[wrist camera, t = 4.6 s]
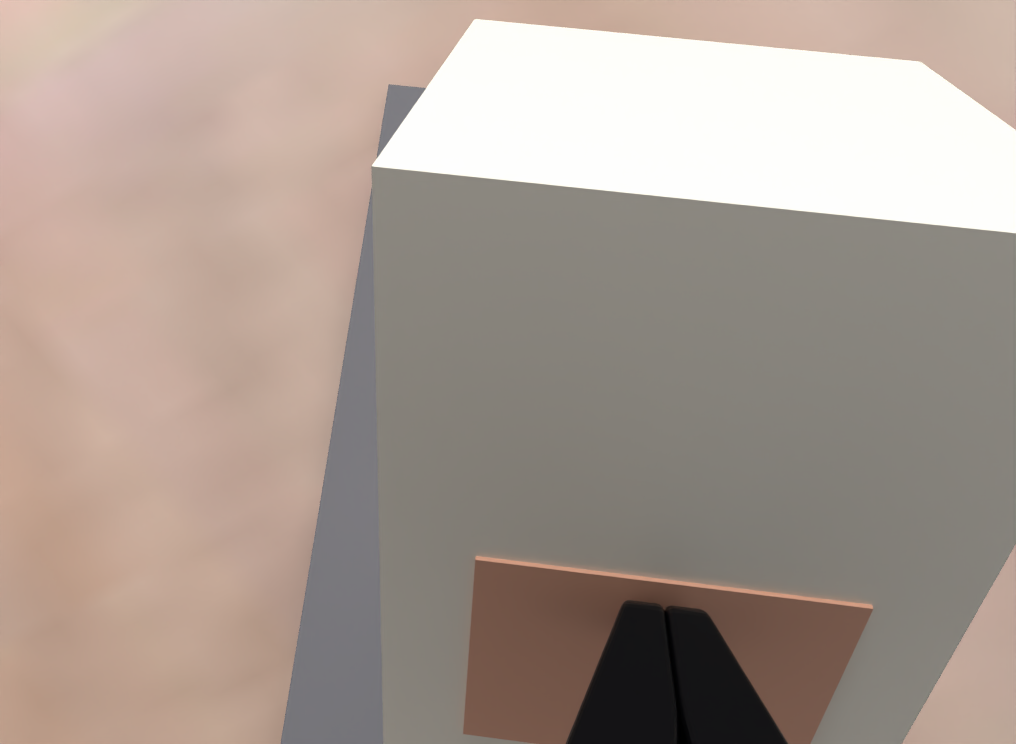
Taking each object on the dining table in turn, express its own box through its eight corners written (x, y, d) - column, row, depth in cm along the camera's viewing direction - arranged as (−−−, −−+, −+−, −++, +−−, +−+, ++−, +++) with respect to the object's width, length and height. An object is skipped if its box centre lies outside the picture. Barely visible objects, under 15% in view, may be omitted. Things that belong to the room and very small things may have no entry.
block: (830, 872, 11) (1187, 253, 6) (383, 811, 11) (370, 169, 6) (759, 544, 16) (920, 61, 11) (452, 507, 16) (475, 19, 11)
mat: (857, 1153, 14) (867, 1169, 14) (234, 1058, 15) (226, 1073, 14) (887, 143, 18) (895, 135, 18) (391, 94, 19) (388, 84, 18)
